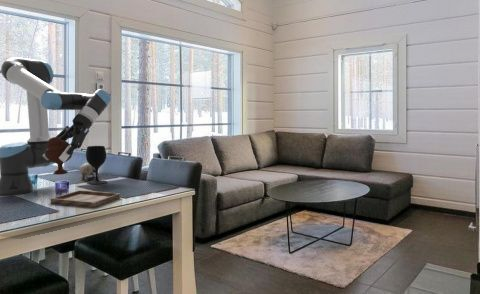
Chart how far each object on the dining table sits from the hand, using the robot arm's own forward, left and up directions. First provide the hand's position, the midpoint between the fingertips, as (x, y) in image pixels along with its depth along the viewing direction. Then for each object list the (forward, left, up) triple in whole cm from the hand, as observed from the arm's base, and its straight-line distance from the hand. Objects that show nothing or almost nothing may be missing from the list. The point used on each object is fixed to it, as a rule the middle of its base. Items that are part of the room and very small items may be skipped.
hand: (53, 159), depth 151 cm
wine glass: (-17, +50, -20) cm, 56 cm away
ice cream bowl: (+1, +3, -6) cm, 7 cm away
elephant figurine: (-31, +60, -20) cm, 70 cm away
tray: (+5, +14, -20) cm, 25 cm away
